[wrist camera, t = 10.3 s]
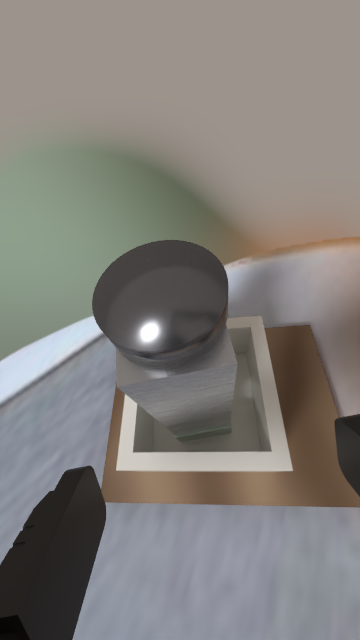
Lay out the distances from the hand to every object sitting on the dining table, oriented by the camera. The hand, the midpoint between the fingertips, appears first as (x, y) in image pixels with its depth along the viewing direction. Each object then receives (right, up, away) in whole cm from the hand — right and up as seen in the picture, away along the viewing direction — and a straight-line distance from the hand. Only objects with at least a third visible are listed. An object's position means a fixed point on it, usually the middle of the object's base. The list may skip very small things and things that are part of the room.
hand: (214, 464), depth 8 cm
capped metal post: (0, -1, +9) cm, 10 cm away
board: (+2, -2, +11) cm, 11 cm away
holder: (+1, -2, +10) cm, 10 cm away
